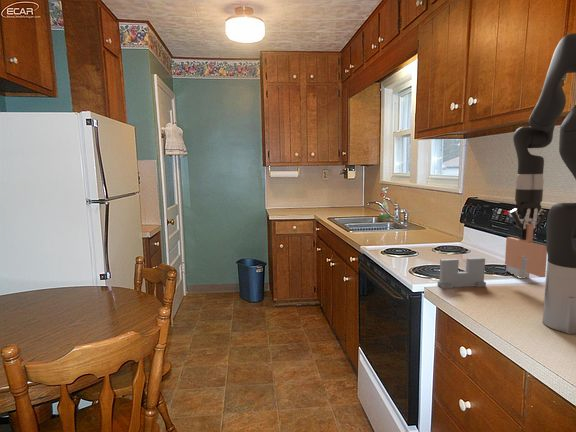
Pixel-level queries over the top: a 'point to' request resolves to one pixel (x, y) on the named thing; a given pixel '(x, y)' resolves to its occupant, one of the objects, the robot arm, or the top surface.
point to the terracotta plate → (526, 253)
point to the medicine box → (519, 272)
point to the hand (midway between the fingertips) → (525, 239)
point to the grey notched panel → (462, 273)
